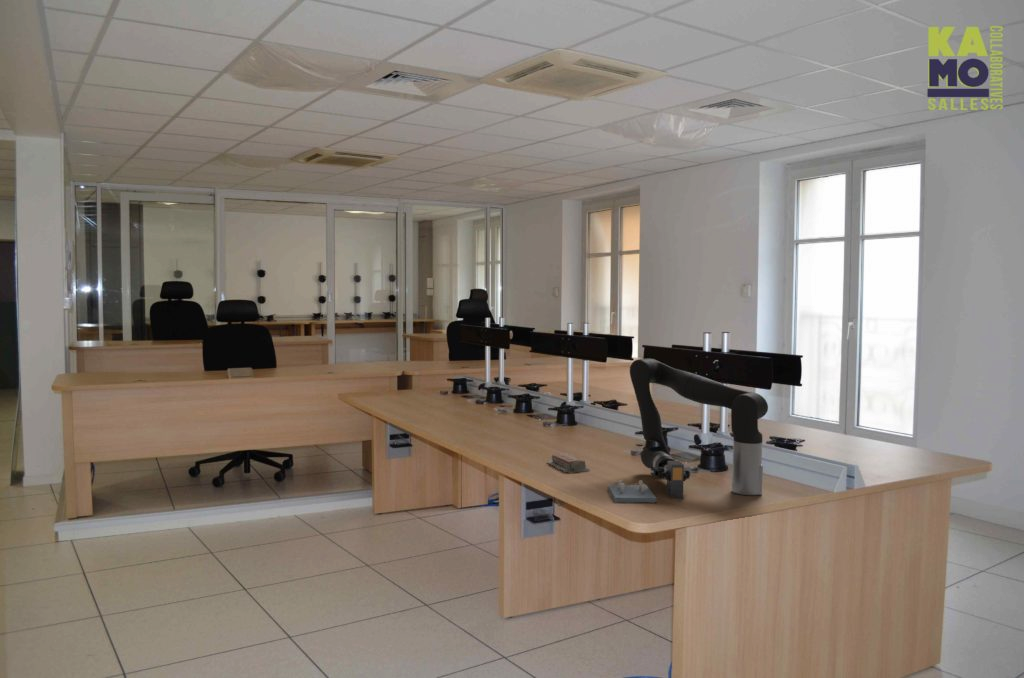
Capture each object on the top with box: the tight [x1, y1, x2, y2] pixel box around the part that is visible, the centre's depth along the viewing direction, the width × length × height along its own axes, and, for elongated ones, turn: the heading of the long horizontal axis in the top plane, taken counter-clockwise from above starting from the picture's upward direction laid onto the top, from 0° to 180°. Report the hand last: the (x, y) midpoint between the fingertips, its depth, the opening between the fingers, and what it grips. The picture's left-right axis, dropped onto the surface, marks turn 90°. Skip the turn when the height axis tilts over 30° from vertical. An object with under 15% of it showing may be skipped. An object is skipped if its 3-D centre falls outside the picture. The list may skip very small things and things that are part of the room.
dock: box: [607, 479, 657, 504], centre depth 245 cm, size 13×16×4 cm
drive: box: [666, 460, 685, 499], centre depth 246 cm, size 4×6×11 cm, turn 1°
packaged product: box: [546, 451, 591, 473], centre depth 287 cm, size 18×5×10 cm
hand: (677, 477), depth 243 cm, fingers closed on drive, 4 cm apart
